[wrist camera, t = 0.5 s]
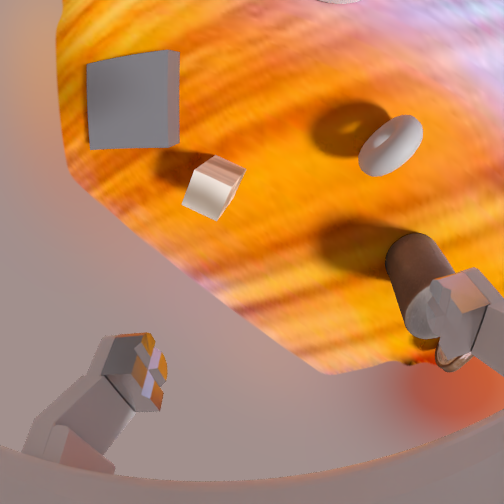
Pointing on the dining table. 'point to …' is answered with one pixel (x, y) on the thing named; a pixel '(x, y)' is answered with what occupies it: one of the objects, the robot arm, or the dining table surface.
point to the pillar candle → (415, 278)
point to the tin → (450, 360)
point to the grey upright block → (213, 187)
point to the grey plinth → (134, 101)
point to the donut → (390, 145)
